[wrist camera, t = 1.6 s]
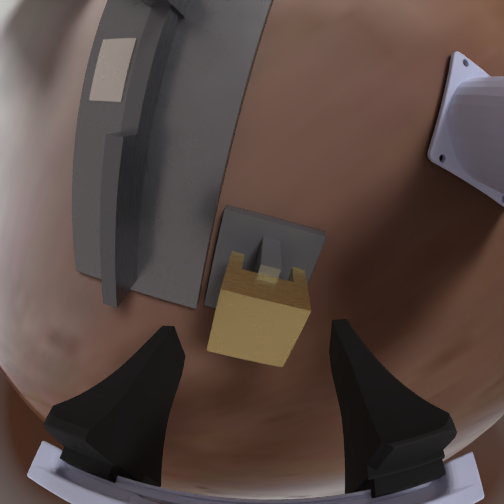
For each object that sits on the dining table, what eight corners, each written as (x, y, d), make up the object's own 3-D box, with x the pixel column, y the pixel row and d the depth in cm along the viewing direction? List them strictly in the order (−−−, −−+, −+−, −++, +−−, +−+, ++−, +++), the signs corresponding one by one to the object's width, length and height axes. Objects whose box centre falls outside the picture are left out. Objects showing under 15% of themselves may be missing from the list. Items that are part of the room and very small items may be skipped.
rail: (276, -10, 10) (276, -53, 6) (198, 302, 20) (180, 352, 15) (120, -15, 10) (79, -39, 5) (81, 265, 19) (45, 301, 15)
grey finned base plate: (324, 231, 17) (337, 264, 13) (288, 318, 20) (290, 360, 16) (226, 205, 16) (212, 232, 13) (206, 298, 19) (193, 337, 16)
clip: (231, 251, 15) (220, 289, 12) (304, 269, 15) (311, 311, 12) (218, 308, 17) (206, 350, 13) (282, 323, 17) (282, 367, 14)
